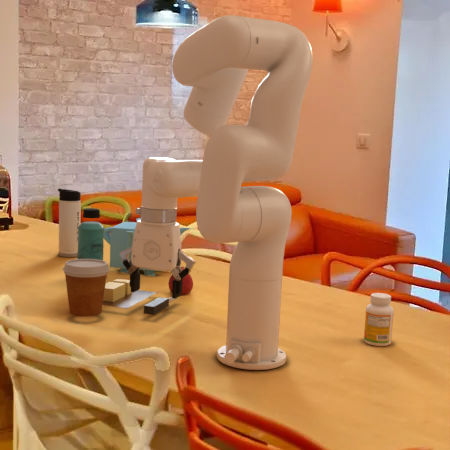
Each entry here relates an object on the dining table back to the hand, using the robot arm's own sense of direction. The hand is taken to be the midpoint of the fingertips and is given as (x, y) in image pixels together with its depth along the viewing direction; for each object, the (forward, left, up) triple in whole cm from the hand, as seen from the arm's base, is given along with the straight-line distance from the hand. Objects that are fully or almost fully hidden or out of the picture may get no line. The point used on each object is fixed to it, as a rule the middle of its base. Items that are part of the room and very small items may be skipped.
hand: (155, 293), depth 161 cm
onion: (+16, 0, -5) cm, 16 cm away
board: (+6, +11, -5) cm, 14 cm away
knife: (+4, -1, -5) cm, 6 cm away
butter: (+4, +12, -3) cm, 13 cm away
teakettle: (+39, +20, -5) cm, 44 cm away
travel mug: (+48, +49, -5) cm, 69 cm away
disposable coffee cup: (-9, +12, -5) cm, 16 cm away
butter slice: (+9, +12, -3) cm, 16 cm away
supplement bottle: (+3, -48, -5) cm, 48 cm away
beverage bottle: (+14, +23, -5) cm, 28 cm away
